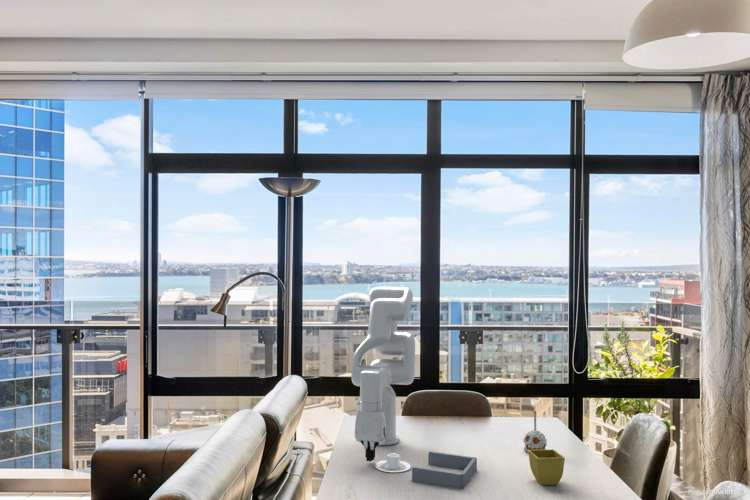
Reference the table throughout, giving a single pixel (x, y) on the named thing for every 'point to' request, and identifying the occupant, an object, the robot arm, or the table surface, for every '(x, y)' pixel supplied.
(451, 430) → the table surface
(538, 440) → the decorative ornament
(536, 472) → the flower pot
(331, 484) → the table surface
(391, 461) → the candle holder
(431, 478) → the box
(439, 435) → the table surface
